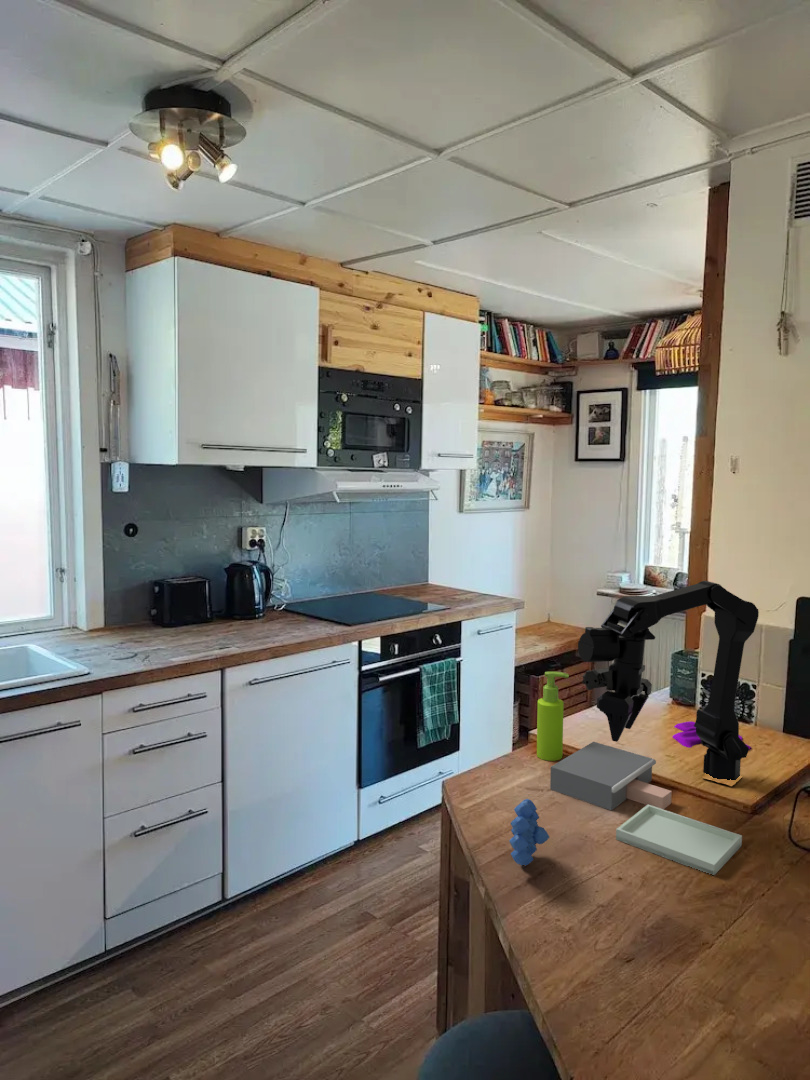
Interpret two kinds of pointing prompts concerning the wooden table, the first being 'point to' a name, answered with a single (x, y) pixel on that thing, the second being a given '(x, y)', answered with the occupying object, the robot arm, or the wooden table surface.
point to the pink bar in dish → (648, 794)
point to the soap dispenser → (550, 720)
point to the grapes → (526, 833)
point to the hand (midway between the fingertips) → (621, 734)
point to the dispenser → (600, 774)
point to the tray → (680, 838)
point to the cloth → (689, 734)
